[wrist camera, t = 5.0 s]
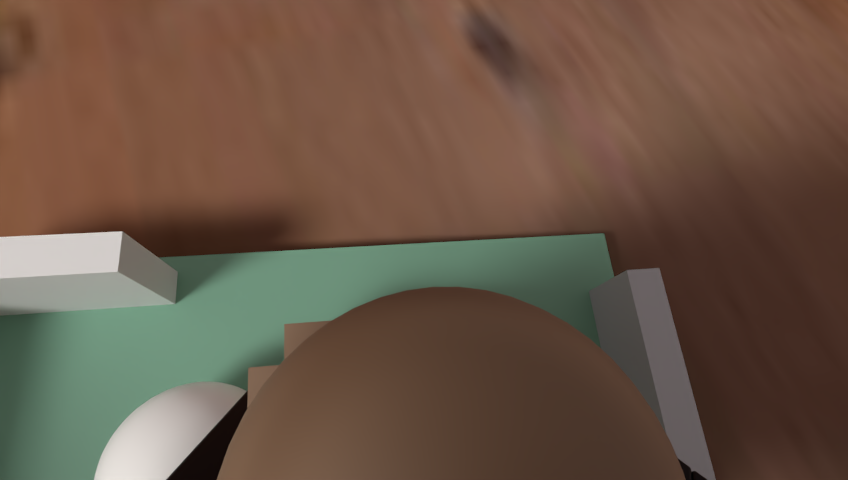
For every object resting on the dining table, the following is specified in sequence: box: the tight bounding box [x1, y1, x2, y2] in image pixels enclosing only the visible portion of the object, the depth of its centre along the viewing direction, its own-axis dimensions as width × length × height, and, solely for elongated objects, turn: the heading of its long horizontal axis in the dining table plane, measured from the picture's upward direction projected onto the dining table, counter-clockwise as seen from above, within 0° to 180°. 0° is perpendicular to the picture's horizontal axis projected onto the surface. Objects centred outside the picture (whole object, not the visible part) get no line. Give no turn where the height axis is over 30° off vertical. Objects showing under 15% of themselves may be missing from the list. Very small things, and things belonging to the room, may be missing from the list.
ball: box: [94, 382, 246, 480], centre depth 11 cm, size 4×4×4 cm
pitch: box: [0, 231, 716, 480], centre depth 12 cm, size 21×12×4 cm, turn 95°
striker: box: [217, 287, 686, 480], centre depth 8 cm, size 5×6×12 cm
